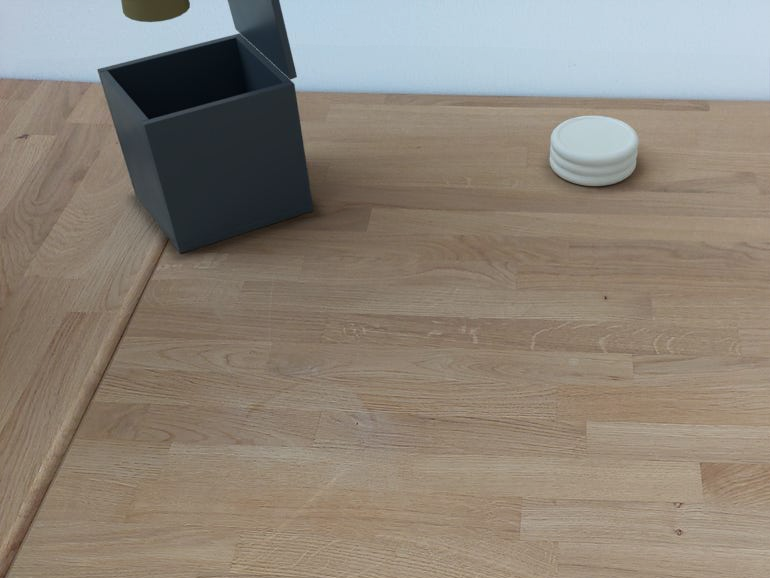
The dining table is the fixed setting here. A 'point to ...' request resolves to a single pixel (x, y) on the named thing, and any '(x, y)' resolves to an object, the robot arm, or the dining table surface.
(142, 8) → the olive green game pawn
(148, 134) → the chest
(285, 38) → the lid
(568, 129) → the coaster
